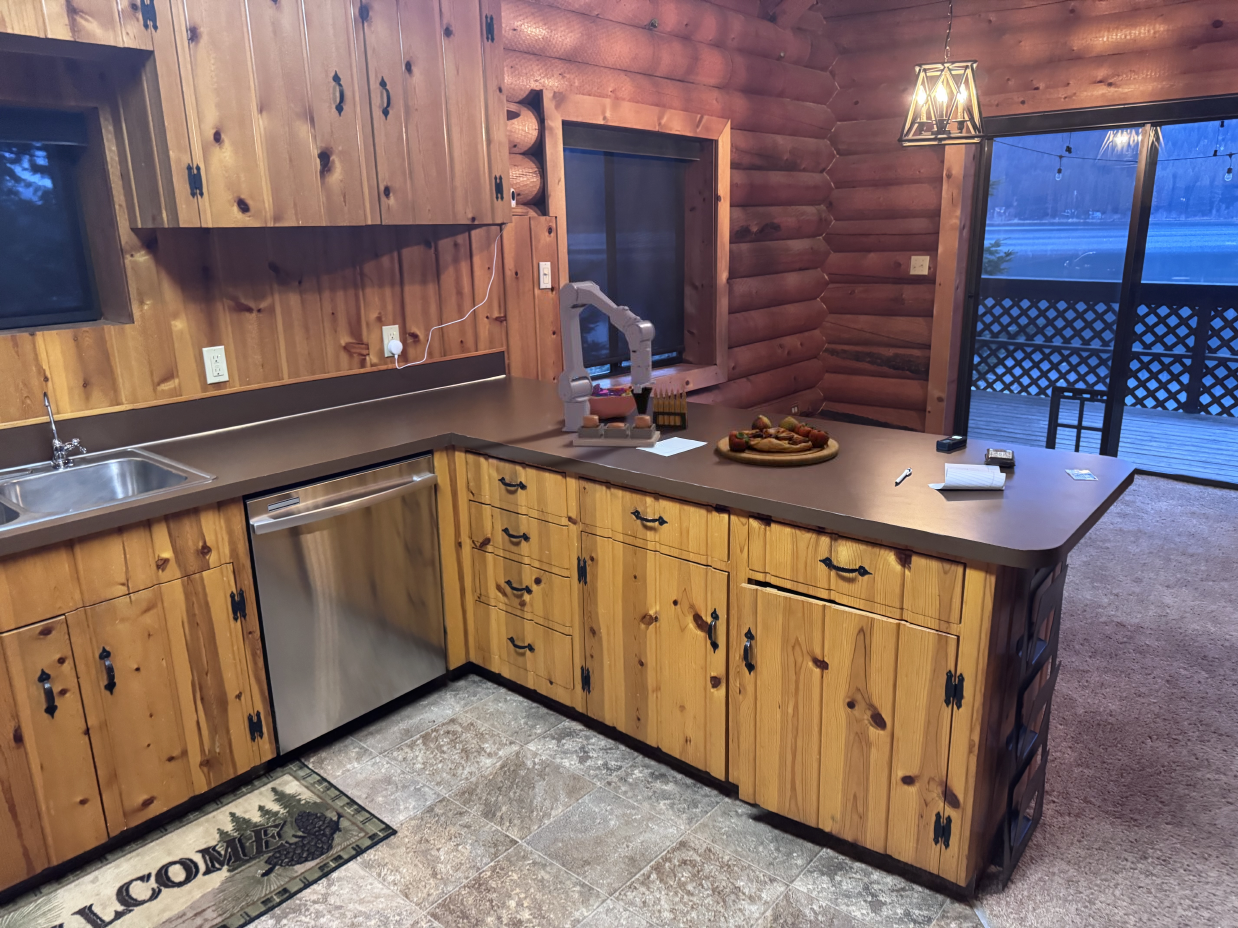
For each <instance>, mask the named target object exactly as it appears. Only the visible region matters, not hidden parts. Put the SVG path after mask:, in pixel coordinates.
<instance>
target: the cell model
mask: <svg viewBox="0 0 1238 928" xmlns="http://www.w3.org/2000/svg"><path fill="white" fill-rule="evenodd" d="M631 389H632V388H626V387H605V388H603V387H601V384H600V382H598V383H596V384H593V392H592V394H591V395H590V399H588V402H589V404H590V415H597V416H598V419H601V420H606V419H607V420H608V419H611V418H624V417H627V416H628V415H631V413H632V412H633V411H634V410H635V409H636V408H637V406H636V402H635V399H634V397H633V395H632V393H631Z"/></svg>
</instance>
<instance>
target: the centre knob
mask: <svg viewBox="0 0 1238 928" xmlns="http://www.w3.org/2000/svg"><path fill="white" fill-rule="evenodd" d="M624 424H625V423H623V422H611V423H610V424H609V428H624Z"/></svg>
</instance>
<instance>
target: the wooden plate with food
mask: <svg viewBox="0 0 1238 928" xmlns="http://www.w3.org/2000/svg"><path fill="white" fill-rule="evenodd" d="M716 450H717V452H718V453H719V455H720V456H722V457H724V458H726V459H729V460H730V461H735V462H739V463H744V464H750V465H758V466H775V467H776V466H779V467H780V466H781V467H782V466H783V467H784V466H785V467H786V466H801V465H804V466H805V465H810V464H818V463H821V462H824V461H828V460H830V459H832V458H834V457H836V456H837V455H838V453H839V451H840V445H839V444H838V442H837V441H836V440H834V439H832V438H830V435H829V432H828V431H827V430H824V431H823V430H821V429H818V428H817V429H816V427H815V426H808V422H801V423H799V421H798V420H796V419H795V418H793V417H791V416H787V417H786V418H784V419H783V420H781V421H780V422H779V423H778V426H777V427H772V424H771V421H770V420H769V419H768V418H767V417H766V416H764V415H762V414H760V415H758V416H757V417H756V418H755V419H754V420H753V421H752V424H751V430H741V431H737V430H736V431H735V430H732V431H731V432H730V433H729V434H728V436H726V437H724V438H722V439H721V440H719V441H718V442H717V445H716Z"/></svg>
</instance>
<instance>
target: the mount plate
mask: <svg viewBox="0 0 1238 928" xmlns="http://www.w3.org/2000/svg"><path fill="white" fill-rule="evenodd" d="M598 424H599V427H598V428H583V424H582V425H581V426H580V427H579V428H578V431H577V436H575V437H574V438H573V440H572V446H574V447H575V446H583V447H588V446H589V447H644V448H645V447H647V448H650V447H651V448H652V447H655V446H656V445H657V442H658V441H659V440H660V437H661V431H657V428H655V424H653V423H650V425H651V428H650V429H641V428H635V423H633V424H632V425H631V426H630V423H624V428H609V424H611V423H607V424H606V425H605V423H598Z"/></svg>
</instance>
